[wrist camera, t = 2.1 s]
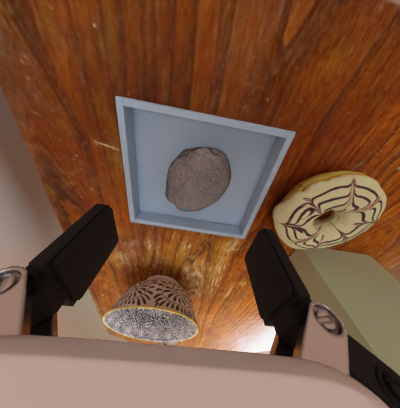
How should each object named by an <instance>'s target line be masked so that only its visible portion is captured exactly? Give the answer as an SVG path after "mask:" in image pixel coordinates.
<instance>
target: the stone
mask: <svg viewBox="0 0 400 408" xmlns="http://www.w3.org/2000/svg"><path fill="white" fill-rule="evenodd" d="M230 180H231V169H230V163H229V160H228V158H227V156H226V154H225V153H224V152H222V151H221V150H218V149H216V148H211V147H196V148H191V149H185V150H184V151H182V152H181V153H180V154H179V155H178V156H177V157H176V158H175V159H174V161H173V162H172V163H171V164H170V167H169V169H168V173H167V181H166V191H165V196H166V198H167V200H168V201H169V202H172V203H173V204H174V205H175V206H176V208H177V209H178V210H181V211H185V212H189V211H200V210H202V209H204V208H206V207H208V206H210V205H212V204H214V203H215V202H216V201H218V200H219V199H220V197H221V196H222V195H223V194H224V193H225V191H226V189H227V188H228V186H229V183H230Z"/></svg>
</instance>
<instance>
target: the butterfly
mask: <svg viewBox="0 0 400 408" xmlns="http://www.w3.org/2000/svg"><path fill="white" fill-rule="evenodd" d="M158 343H159V344H160V345H174V344H177V343H180V341H179V342H158Z"/></svg>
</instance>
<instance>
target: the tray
mask: <svg viewBox="0 0 400 408" xmlns="http://www.w3.org/2000/svg"><path fill="white" fill-rule="evenodd" d="M115 100H116V108H117V116H118V124H119V133H120V141H121V149H122V157H123V165H124V173H125V181H126V190H127V198H128V206H129V214H130V222H135V223H142V224H148V225H155V226H161V227H168V228H175V229H181V230H188V231H194V232H201V233H208V234H214V235H221V236H228V237H234V238H241V239H245V237H246V235H247V233H248V231H249V229H250V227H251V225H252V222H253V220H254V218H255V216H256V214H257V212H258V210H259V208H260V206H261V204H262V202H263V200H264V198H265V196H266V194H267V191H268V189H269V187H270V185H271V183H272V181H273V179H274V177H275V175H276V173H277V171H278V169H279V167H280V165H281V163H282V160H283V158H284V156H285V154H286V152H287V150H288V148H289V146H290V144H291V142H292V140H293V138H294V136H295V134H296V132H293V131H289V130H285V129H280V128H275V127H270V126H265V125H260V124H255V123H250V122H245V121H240V120H235V119H230V118H225V117H220V116H216V115H211V114H206V113H201V112H196V111H191V110H186V109H181V108H176V107H171V106H166V105H161V104H156V103H151V102H146V101H142V100H137V99H132V98H126V97H120V96H115ZM196 147H211V148H216V149H218V150H221V151H222V152H224V153H225V154H226V156H227V158H228V160H229V163H230V169H231V180H230V183H229V186H228V188H227V189H226V191H225V193H224V194H223V195H222V196H221V197H220V199H219V200H218V201H216V202H215V203H214V204H212V205H210V206H208V207H206V208H204V209H202V210H200V211H189V212H185V211H181V210H178V209H177V208H176V206H175V205H174V204H173V203H172V202H169V201H168V200H167V198H166V196H165V191H166V181H167V173H168V169H169V167H170V164H171V163H172V162H173V161H174V159H175V158H176V157H177V156H178V155H179V154H180V153H181V152H182V151H184V150H185V149H191V148H196Z"/></svg>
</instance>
